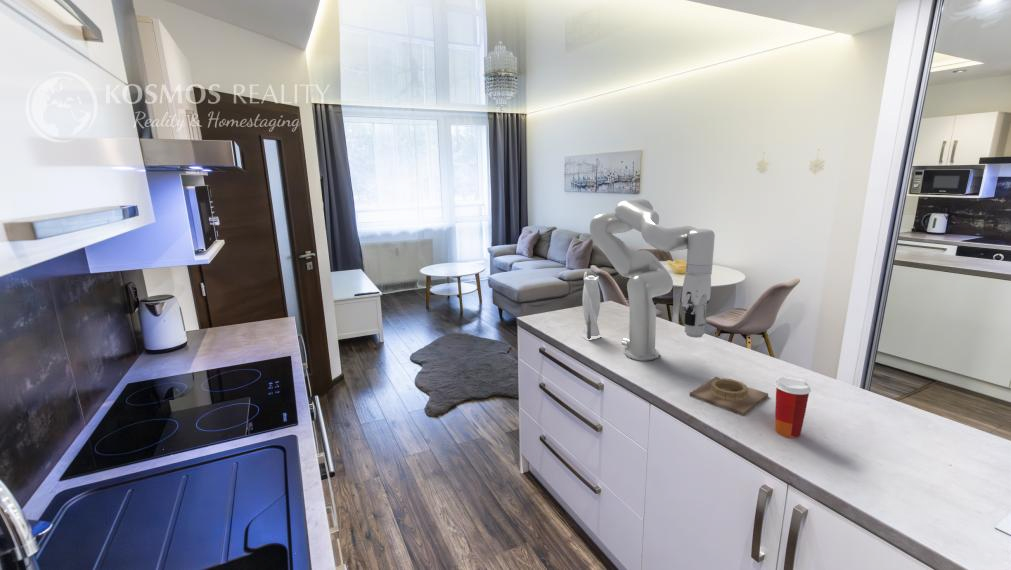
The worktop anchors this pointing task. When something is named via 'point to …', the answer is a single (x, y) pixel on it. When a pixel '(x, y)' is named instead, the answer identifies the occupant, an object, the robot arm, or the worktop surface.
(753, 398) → the ring stand
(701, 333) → the energy drink can
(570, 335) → the worktop surface
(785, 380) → the paper cup
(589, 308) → the skyscraper
